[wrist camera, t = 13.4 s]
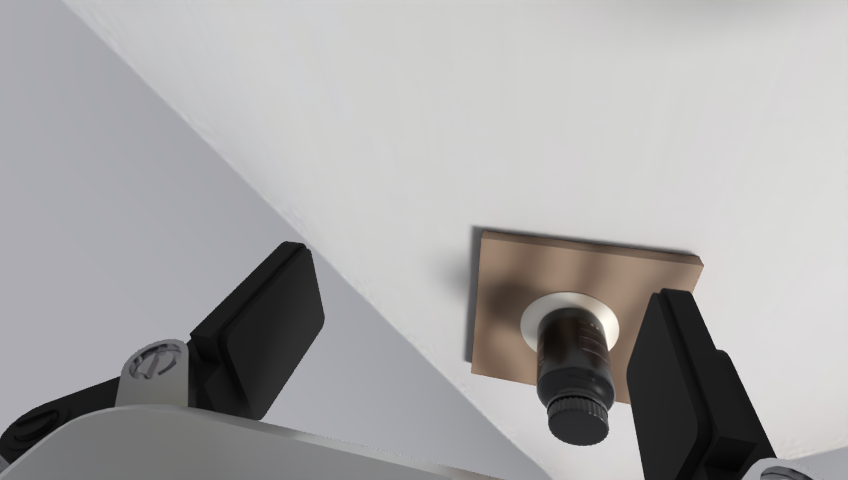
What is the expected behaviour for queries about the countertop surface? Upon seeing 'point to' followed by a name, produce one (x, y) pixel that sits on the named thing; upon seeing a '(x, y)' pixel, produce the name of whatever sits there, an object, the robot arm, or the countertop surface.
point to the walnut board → (565, 297)
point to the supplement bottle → (574, 375)
